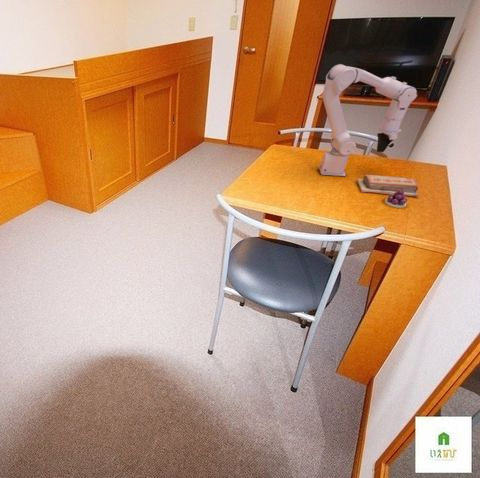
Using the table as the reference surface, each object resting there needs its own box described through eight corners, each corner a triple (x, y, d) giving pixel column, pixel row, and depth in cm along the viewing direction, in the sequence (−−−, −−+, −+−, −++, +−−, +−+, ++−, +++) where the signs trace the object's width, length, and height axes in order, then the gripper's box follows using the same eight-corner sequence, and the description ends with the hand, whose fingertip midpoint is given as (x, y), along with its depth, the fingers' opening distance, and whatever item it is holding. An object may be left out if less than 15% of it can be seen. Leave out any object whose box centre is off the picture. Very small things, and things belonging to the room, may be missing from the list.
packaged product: (414, 175, 125) (423, 186, 118) (408, 186, 128) (417, 197, 120) (360, 171, 131) (365, 181, 124) (356, 181, 134) (360, 192, 126)
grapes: (387, 206, 117) (395, 190, 113) (382, 198, 121) (389, 182, 118) (408, 208, 115) (417, 192, 111) (402, 200, 119) (410, 184, 116)
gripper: (412, 123, 120) (396, 158, 128) (399, 113, 131) (386, 146, 139) (390, 123, 122) (376, 157, 130) (379, 113, 133) (367, 145, 141)
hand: (379, 151), depth 135 cm, fingers closed
